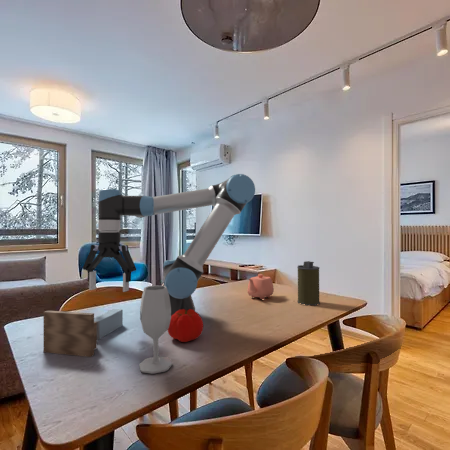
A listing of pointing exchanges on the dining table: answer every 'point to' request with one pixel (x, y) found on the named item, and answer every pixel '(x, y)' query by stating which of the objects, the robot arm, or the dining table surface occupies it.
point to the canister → (308, 284)
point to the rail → (108, 322)
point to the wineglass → (155, 325)
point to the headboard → (70, 333)
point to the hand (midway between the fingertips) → (109, 290)
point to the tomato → (185, 325)
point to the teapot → (260, 286)
